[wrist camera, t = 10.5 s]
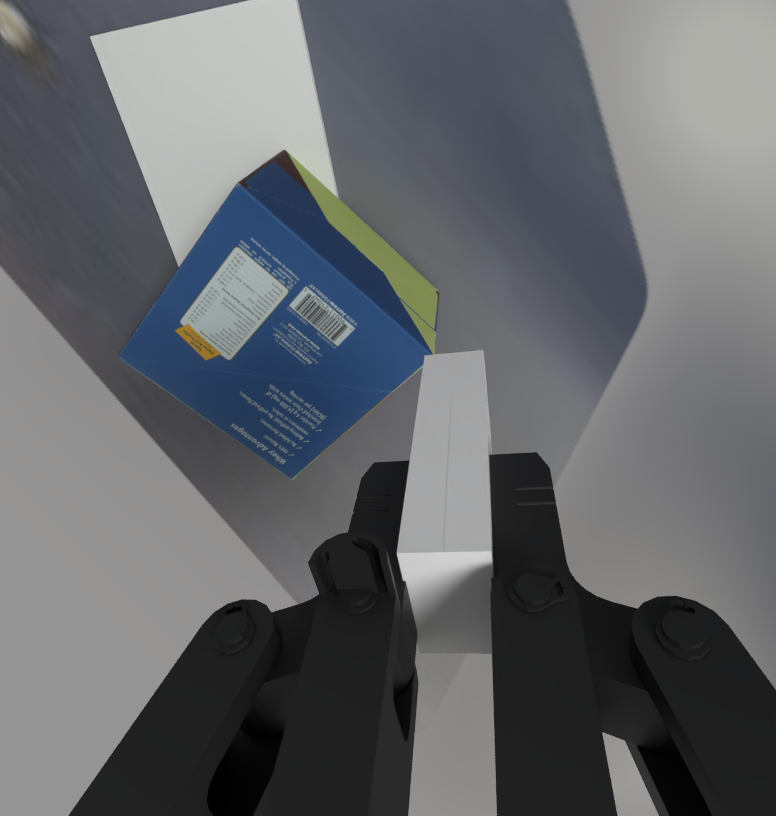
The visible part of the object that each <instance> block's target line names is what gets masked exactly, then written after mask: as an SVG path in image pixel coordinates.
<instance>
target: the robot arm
mask: <svg viewBox="0 0 776 816" xmlns="http://www.w3.org/2000/svg"><path fill="white" fill-rule="evenodd" d="M353 511H354V514H352V518H351V523H350V527H349V531H348V533H342V534H338V535H336V536H334V537H332V538H330V539H328V540H326V541H325V542H324V543H323V544H321V545H320V546H319V547H318V548H317V549H316V550H315V551H314V553H313V555H312V556H311V558H310V560H309V562H308V564H309V567H310V569H311V572H312V575H313V578H314V580H315V583H316V586H317V589H318V591H319V595H317V596H316V597H314V598H313V599H311V600H309V601H306V602H304V603H301V604H298V605H295V606H291V607H288V608H285V609H282V610H278V611H275V612H271V611H270V610H269V608H268V607H267V605H265V604H263V603H261V602H259V601H257V600H239V601H236V602H232V603H229V604H227V605H225V606H223V607H222V608H220V609H219V610H217V611H216V612H214V613H213V614H212V615H211V616H210V617H209V618H208V619H207V620H206V621H205V623H204V624H203V625H202V626H201V628H200V629H199V631H198V632H197V633H196V635H195V636H194V638H193V639H192V641H191V642H190V643H189V645H188V646H187V648H186V649H185V651H184V652H183V653H182V655H181V656H180V658H179V659H178V660H177V662H176V663H175V665H174V666H173V667H172V669H171V670H170V672H169V673H168V675H167V676H166V678H165V679H164V680H163V682H162V683H161V685H160V686H159V687H158V689H157V690H156V692H155V693H154V695H153V696H152V697H151V699H150V700H149V702H148V703H147V705H146V706H145V707H144V709H143V710H142V712H141V713H140V715H139V716H138V717H137V719H136V720H135V722H134V723H133V724H132V726H131V727H130V729H129V730H128V732H127V733H126V734H125V736H124V737H123V739H122V740H121V742H120V743H119V744H118V746H117V747H116V749H115V750H114V752H113V753H112V754H111V756H110V757H109V759H108V760H107V762H106V763H105V764H104V766H103V767H102V769H101V770H100V772H99V773H98V775H97V776H96V777H95V779H94V780H93V781H92V783H91V784H90V786H89V787H88V789H87V790H86V791H85V793H84V794H83V796H82V797H81V799H80V800H79V802H78V803H77V804H76V806H75V807H74V809H73V810H72V811H71V813H70V814H69V816H408V809H409V797H410V783H411V771H412V759H413V746H414V733H415V720H416V707H417V694H418V677H417V670H416V666H415V655H416V643H417V642H418V646H419V651H420V653H481V654H486V653H487V654H489V653H490V654H492V665H493V698H494V728H495V729H494V730H495V763H496V795H497V816H617V811H616V806H615V800H614V795H613V789H612V784H611V778H610V773H609V768H608V762H607V757H606V751H605V746H604V741H603V736H602V732H604V733H606V734H609V735H612V736H615V737H617V738H620V739H622V740H625V741H626V744H627V746H628V748H629V750H630V753H631V755H632V757H633V759H634V761H635V764H636V766H637V768H638V770H639V772H640V775H641V777H642V779H643V781H644V783H645V786H646V788H647V790H648V792H649V794H650V797H651V799H652V801H653V803H654V805H655V808H656V810H657V812H658V814H659V816H776V690H775V688H774V687H773V686H772V684H771V683H770V682H769V680H768V679H767V677H766V676H765V675H764V674H763V672H762V671H761V669H760V668H759V666H758V665H757V664H756V662H755V661H754V660H753V658H752V657H751V656H750V654H749V653H748V651H747V650H746V649H745V647H744V646H743V645H742V643H741V642H740V641H739V639H738V638H737V637H736V635H735V634H734V632H733V631H732V630H731V628H730V627H729V625H728V624H727V623H726V622H725V621H724V620H722V619H721V618H720V617H719V616H718V615H717V614H716V613H715V612H714V611H713V610H711V609H709V608H707V607H706V606H704V605H702V604H700V603H698V602H697V601H693V600H690V599H686V598H682V597H678V596H664V597H663V596H662V597H656V598H653V599H651V600H649V601H646V602H644V603H643V604H642V605H641V606H640V607H639V608H638V609H636V608H633V607H629V606H625V605H622V604H618V603H614V602H611V601H608V600H605V599H603V598H600V597H597V596H596V595H594V594H592V593H591V592H589V591H587V590H586V589H584V588H583V587H582V586H581V585H580V584H579V583H578V582H577V581H576V580H575V579H574V577H573V576H572V574H571V573H570V571H569V568H568V565H567V562H566V556H565V551H564V545H563V540H562V534H561V528H560V523H559V518H558V512H557V506H556V501H555V495H554V490H553V484H552V478H551V473H550V468H549V467H548V465H547V464H546V463H545V462H544V461H543V459H542V458H541V457H540V456H539V455H538V453H537V452H534V453H515V454H497V455H492V451H491V433H490V421H489V410H488V398H487V386H486V374H485V363H484V351H483V350H480V351H469V352H458V353H447V354H436V355H425V357H424V364H423V371H422V378H421V385H420V392H419V399H418V406H417V413H416V420H415V427H414V434H413V442H412V449H411V456H410V461H394V462H375V463H373V464H372V466H371V467H370V468H369V469H368V471H367V472H366V473H365V474H364V476H363V477H362V478H361V482H360V486H359V490H358V494H357V500H356V502H355V506H354V510H353Z"/></svg>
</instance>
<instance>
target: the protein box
mask: <svg viewBox="0 0 776 816" xmlns="http://www.w3.org/2000/svg"><path fill="white" fill-rule="evenodd" d="M438 300H439V292H438V290H437V289H436V288H435V287H434V286H433V285H432V284H430V283H429V282H428V281H427V280H426V279H425V278H424V277H423V276H422V275H421V274H420V273H419V272H417V271H416V270H415V269H414V268H413V267H412V266H411V265H410V264H409V263H408V262H407V261H406V260H405V259H403V258H402V257H401V256H400V255H399V254H398V253H397V252H396V251H395V250H394V249H393V248H392V247H391V246H390V245H388V244H387V243H386V242H385V241H384V240H383V239H382V238H381V237H380V236H379V235H378V234H376V233H375V232H374V231H373V230H372V229H371V228H370V227H369V226H368V225H367V224H366V223H364V222H363V221H362V220H361V219H360V218H359V217H358V216H357V215H356V214H355V213H354V212H353V211H351V210H350V209H349V208H348V207H347V206H346V205H345V204H344V203H343V202H342V201H341V200H340V199H338V198H337V197H336V196H335V195H334V194H333V193H332V192H331V191H330V190H329V189H328V188H327V187H325V186H324V185H323V184H322V183H321V182H320V181H319V180H318V179H317V178H316V177H315V176H314V175H312V174H311V173H310V172H309V171H308V170H307V169H306V168H305V167H304V166H303V165H302V164H300V163H299V162H298V161H297V160H296V159H295V158H294V157H293V156H292V155H291V154H290V153H288V152H287V151H286V150H282V151H281V152H279V153H278V154H277V155H275V156H274V157H272V158H271V159H270V160H268V161H267V162H266V163H264V164H262V165H261V166H260V167H259V168H257V169H256V170H254V171H253V172H252V173H250V174H249V175H248V176H246V177H245V178H243V179H242V180H241V181H239V182H238V183H237V184H236V185H235V187H234V188H233V189H232V191H231V192H230V194H229V195H228V197H227V198H226V199H225V201H224V202H223V204H222V205H221V207H220V208H219V210H218V211H217V212H216V214H215V215H214V217H213V218H212V220H211V221H210V223H209V224H208V226H207V227H206V229H205V230H204V232H203V233H202V234H201V236H200V237H199V239H198V240H197V242H196V243H195V245H194V246H193V248H192V249H191V250H190V252H189V253H188V255H187V256H186V258H185V259H184V261H183V262H182V263H181V265H180V266H179V268H178V269H177V271H176V272H175V274H174V275H173V276H172V278H171V279H170V281H169V282H168V283H167V285H166V286H165V288H164V289H163V291H162V292H161V294H160V295H159V296H158V298H157V299H156V301H155V302H154V304H153V305H152V306H151V308H150V309H149V311H148V312H147V314H146V315H145V317H144V318H143V320H142V321H141V322H140V324H139V325H138V327H137V328H136V329H135V331H134V332H133V334H132V335H131V337H130V338H129V340H128V341H127V343H126V344H125V346H124V347H123V349H122V350H121V352H120V353H119V354H118V357H119V358H120V359H121V360H122V361H124V362H125V363H127V364H128V365H129V366H131V367H132V368H133V369H135V370H136V371H138V372H139V373H140V374H142V375H143V376H145V377H146V378H147V379H149V380H150V381H152V382H153V383H154V384H156V385H157V386H159V387H160V388H162V389H163V390H165V391H166V392H168V393H169V394H170V395H172V396H173V397H175V398H176V399H178V400H179V401H180V402H182V403H183V404H184V405H186V406H187V407H189V408H190V409H191V410H193V411H194V412H195V413H197V414H199V415H200V416H201V417H202V418H204V419H205V420H207V421H208V422H209V423H211V424H212V425H214V426H215V427H217V428H218V429H219V430H221V431H222V432H224V433H225V434H227V435H228V436H230V437H231V438H233V439H234V440H235V441H237V442H238V443H240V444H241V445H243V446H244V447H246V448H247V449H249V450H250V451H252V452H253V453H254V454H256V455H257V456H259V457H260V458H261V459H263V460H264V461H265V462H267V463H268V464H270V465H271V466H272V467H274V468H275V469H276V470H278V471H279V472H281V473H282V474H283V475H285V476H286V477H288V478H289V479H291V480H293V479H294V478H295V477H296V476H297V475H298V474H299V473H300V472H302V471H303V470H304V469H305V468H306V467H307V466H308V465H310V464H311V463H312V462H313V461H314V460H315V459H316V458H318V457H319V456H320V455H321V454H322V453H323V452H324V451H325V450H327V449H328V448H329V447H330V446H331V445H332V444H334V443H335V442H336V441H337V440H338V439H339V438H340V437H342V436H343V435H344V434H345V433H346V432H347V431H349V430H350V429H351V428H352V427H353V426H354V425H356V424H357V423H358V422H359V421H360V420H361V419H362V418H364V417H365V416H366V415H367V414H368V413H370V412H371V411H372V410H373V409H374V408H375V407H376V406H378V405H379V404H380V403H381V402H382V401H383V400H385V399H386V398H387V397H388V396H389V395H390V394H392V393H393V392H394V391H395V390H396V389H397V388H398V387H400V386H401V385H402V384H403V383H404V382H406V381H407V380H408V379H409V378H410V377H411V376H413V375H414V374H415V373H416V372H417V371H418V370H420V369H421V368H422V367H423V364H424V357H425V355H434V351H435V338H436V326H437V313H438Z"/></svg>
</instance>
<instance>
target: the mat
mask: <svg viewBox="0 0 776 816" xmlns="http://www.w3.org/2000/svg"><path fill="white" fill-rule="evenodd" d="M90 38H91V41H92V44H93V46H94V49H95V51H96V54H97V57H98V59H99V62H100V64H101V67H102V70H103V72H104V75H105V77H106V80H107V82H108V85H109V88H110V90H111V93H112V95H113V98H114V101H115V103H116V106H117V108H118V111H119V114H120V116H121V119H122V121H123V124H124V127H125V129H126V132H127V134H128V137H129V139H130V142H131V145H132V147H133V150H134V152H135V155H136V158H137V160H138V163H139V165H140V168H141V171H142V173H143V176H144V178H145V181H146V184H147V186H148V189H149V191H150V194H151V197H152V199H153V202H154V204H155V207H156V209H157V212H158V215H159V217H160V220H161V222H162V225H163V228H164V230H165V233H166V235H167V238H168V241H169V243H170V246H171V248H172V251H173V254H174V256H175V259H176V261H177V264H178V267H179V266H180V265H181V263H182V262H183V261H184V259H185V258H186V256H187V255H188V253H189V252H190V250H191V249H192V248H193V246H194V245H195V243H196V242H197V240H198V239H199V237H200V236H201V234H202V233H203V232H204V230H205V229H206V227H207V226H208V224H209V223H210V221H211V220H212V218H213V217H214V215H215V214H216V212H217V211H218V210H219V208H220V207H221V205H222V204H223V202H224V201H225V199H226V198H227V197H228V195H229V194H230V192H231V191H232V189H233V188H234V187H235V185H236V184H237V183H238V182H239V181H241V180H242V179H243V178H245V177H246V176H248V175H249V174H250V173H252V172H253V171H254V170H256V169H257V168H259V167H260V166H261V165H262V164H264V163H266V162H267V161H268V160H270V159H271V158H272V157H274V156H275V155H277V154H278V153H279V152H281V151H282V150H286V151H287V152H288V153H290V154H291V155H292V156H293V157H294V158H295V159H296V160H297V161H298V162H299V163H300V164H302V165H303V166H304V167H305V168H306V169H307V170H308V171H309V172H310V173H311V174H312V175H314V176H315V177H316V178H317V179H318V180H319V181H320V182H321V183H322V184H323V185H324V186H325V187H327V188H328V189H329V190H330V191H331V192H332V193H333V194H334V195H335V196H336V197H337V198H338V199H339V196H338V191H337V187H336V182H335V177H334V172H333V167H332V162H331V158H330V153H329V148H328V143H327V138H326V133H325V129H324V124H323V119H322V114H321V109H320V104H319V100H318V95H317V90H316V85H315V80H314V75H313V71H312V66H311V61H310V56H309V51H308V46H307V42H306V37H305V32H304V27H303V22H302V17H301V13H300V8H299V3H298V0H249V1H245V2H240V3H236V4H232V5H227V6H223V7H218V8H214V9H209V10H205V11H201V12H196V13H192V14H187V15H183V16H178V17H174V18H170V19H165V20H161V21H156V22H152V23H148V24H143V25H139V26H134V27H130V28H125V29H121V30H117V31H112V32H108V33H103V34H99V35H94V36H90Z"/></svg>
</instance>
